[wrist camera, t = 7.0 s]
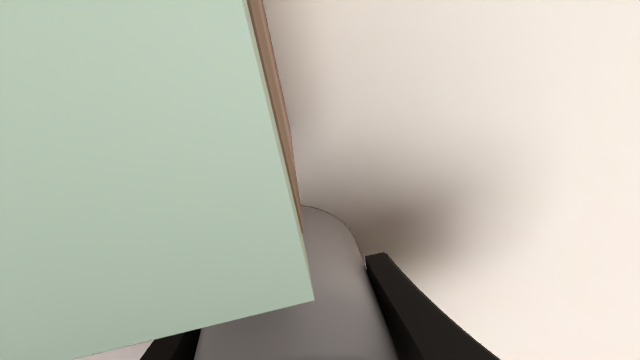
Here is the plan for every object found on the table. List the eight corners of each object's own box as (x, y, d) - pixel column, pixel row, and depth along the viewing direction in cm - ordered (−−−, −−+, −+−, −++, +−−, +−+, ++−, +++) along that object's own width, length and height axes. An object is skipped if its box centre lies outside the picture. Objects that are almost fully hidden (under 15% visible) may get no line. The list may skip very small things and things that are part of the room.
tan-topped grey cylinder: (242, 323, 12) (221, 500, 7) (198, 223, 9) (130, 393, 5) (363, 296, 12) (414, 451, 8) (350, 191, 10) (412, 329, 5)
